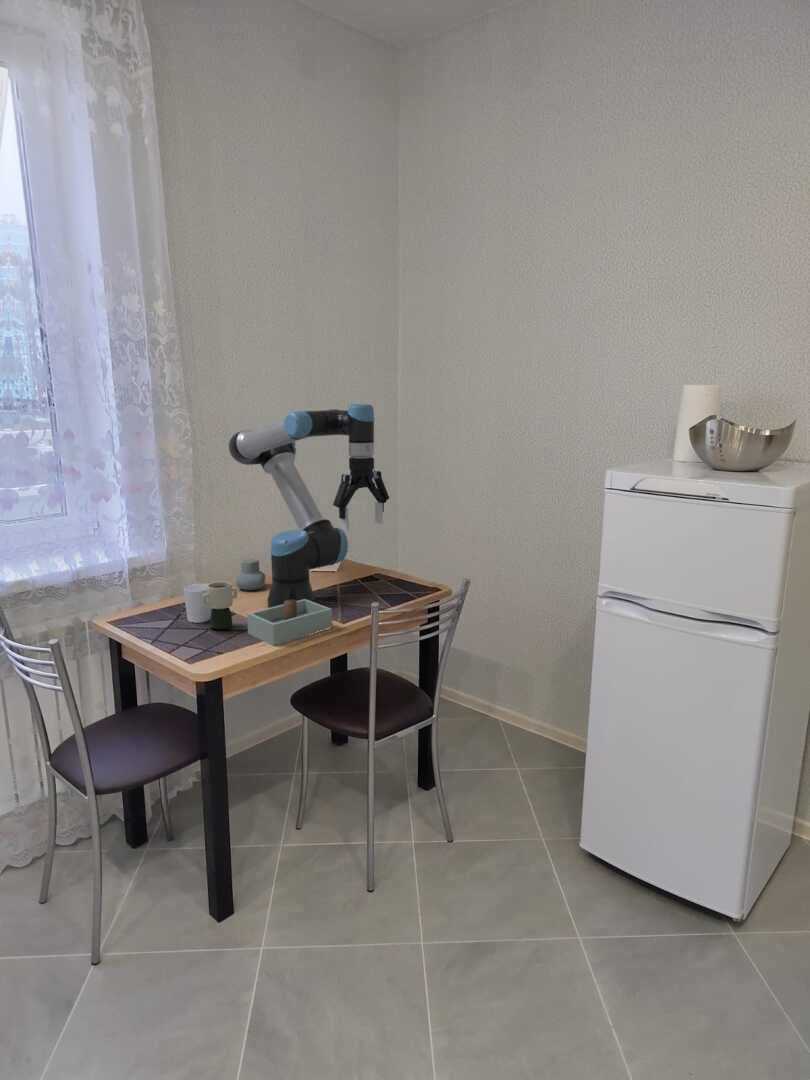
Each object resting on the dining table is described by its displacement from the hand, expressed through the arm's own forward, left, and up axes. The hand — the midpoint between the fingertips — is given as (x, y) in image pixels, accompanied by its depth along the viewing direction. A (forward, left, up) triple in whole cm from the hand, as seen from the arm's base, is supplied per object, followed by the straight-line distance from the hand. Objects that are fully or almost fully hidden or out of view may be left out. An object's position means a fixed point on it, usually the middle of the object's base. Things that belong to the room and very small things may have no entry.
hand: (362, 526), depth 217 cm
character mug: (-26, -35, -27) cm, 51 cm away
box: (-7, -27, -27) cm, 39 cm away
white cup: (-37, -33, -27) cm, 56 cm away
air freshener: (-46, 0, -27) cm, 53 cm away
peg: (-7, -27, -27) cm, 39 cm away
